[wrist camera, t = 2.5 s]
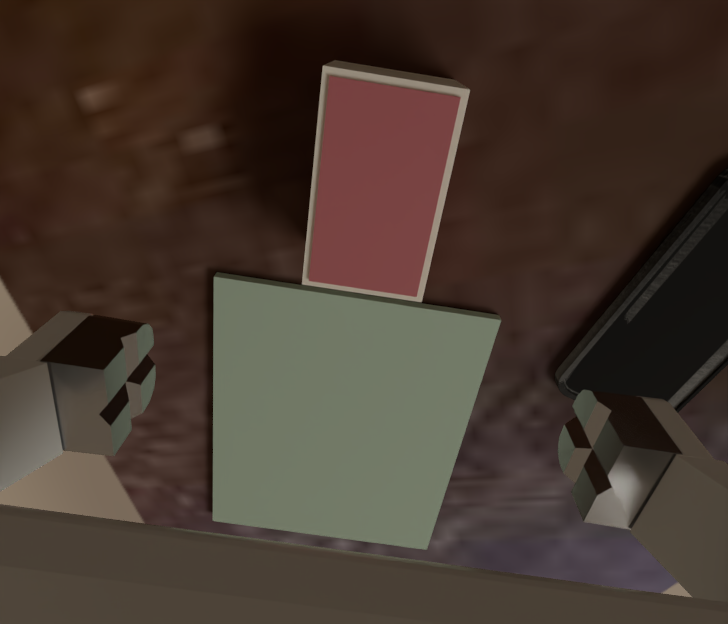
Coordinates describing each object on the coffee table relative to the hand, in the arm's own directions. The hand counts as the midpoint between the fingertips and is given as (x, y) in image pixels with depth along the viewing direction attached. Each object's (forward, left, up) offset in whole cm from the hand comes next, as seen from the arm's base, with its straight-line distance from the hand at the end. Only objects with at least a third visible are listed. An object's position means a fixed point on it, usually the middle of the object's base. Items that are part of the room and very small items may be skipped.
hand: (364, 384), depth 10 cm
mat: (+17, 0, -18) cm, 24 cm away
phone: (+5, +18, -18) cm, 26 cm away
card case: (0, 0, -18) cm, 18 cm away
